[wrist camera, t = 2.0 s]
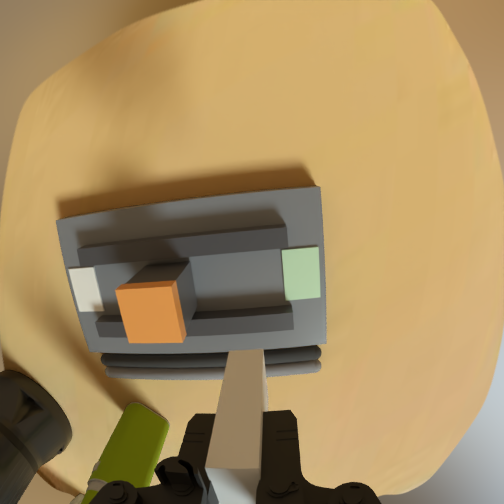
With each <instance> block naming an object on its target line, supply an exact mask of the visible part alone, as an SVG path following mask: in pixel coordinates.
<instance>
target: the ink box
mask: <svg viewBox="0 0 504 504" xmlns="http://www.w3.org/2000/svg"><path fill="white" fill-rule="evenodd" d="M83 498H84V495H83V494H79V495H78V496H77V497H75V499H73V500H72V501H71V502H70V504H81V502H82V500H83Z"/></svg>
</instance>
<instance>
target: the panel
mask: <svg viewBox="0 0 504 504" xmlns="http://www.w3.org/2000/svg"><path fill="white" fill-rule="evenodd" d="M56 224H57V230H58V235H59V241H60V246H61V250H62V255H63V260H64V264H65V268H66V273H67V277H68V281H69V285H70V289H71V292H72V296H73V300H74V303H75V307H76V310H77V314H78V317H79V320H80V324H81V327H82V330H83V333H84V336H85V339H86V342H87V345H88V348H89V351H90V352H100V353H137V354H176V353H213V352H229V351H235V350H253V349H263V350H265V349H278V348H289V347H300V346H310V345H319V344H326V282H325V256H324V235H323V219H322V204H321V190H320V187H319V186H303V187H291V188H279V189H268V190H257V191H247V192H238V193H228V194H219V195H211V196H202V197H194V198H186V199H178V200H171V201H164V202H156V203H149V204H143V205H136V206H129V207H123V208H116V209H110V210H104V211H98V212H92V213H87V214H81V215H75V216H70V217H65V218H62V219H59V220H56ZM187 261H190V262H191V268H192V274H193V280H194V286H195V292H196V298H197V304H198V306H197V308H196V311H195V313H194V315H193V317H192V319H191V321H190V324H189V326H188V328H187V330H186V334H187V335H186V337H185V339H184V341H183V343H129V341H128V338H127V334H126V331H125V327H124V323H123V320H122V316H121V312H120V308H119V304H118V300H117V296H116V292H115V290H116V289H117V288H118V287H119V286H120V285H121V284H125V283H126V282H127V281H129V280H130V279H131V278H132V277H133V276H134V275H135V274H136V273H138V272H139V271H140V270H141V269H142V268H143V267H144V266H146V265H153V264H164V263H176V262H187Z"/></svg>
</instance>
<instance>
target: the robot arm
mask: <svg viewBox="0 0 504 504" xmlns="http://www.w3.org/2000/svg"><path fill="white" fill-rule="evenodd" d="M71 439H72V429H71V426H70V423H69V421H68V419H67V417H66V416H65V414H64V412H63V411H62V409H61V408H60V407H59V406H58V404H57V403H56V402H55V401H54V400H53V398H52V397H51V396H50V395H49V394H48V393H47V392H46V391H45V390H44V389H42V388H41V387H40V386H39V385H38V384H36V383H35V382H34V381H32V380H31V379H29V378H28V377H26V376H24V375H23V374H21V373H18V372H15V371H12V370H5V371H2V372H0V504H17V503H18V501H19V500H20V498H21V496H22V495H23V493H24V492H25V490H26V488H27V486H28V485H29V483H30V482H31V480H32V478H33V477H34V475H35V474H36V472H37V471H38V469H39V468H40V467H41V466H42V465H44V464H45V463H47V462H48V461H50V460H51V459H53V458H54V457H55V456H56V455H57V454H60V453H62V452H63V451H64V450H65V449H66V447H67V446H68V444H69V443H70V441H71ZM154 471H155V473H156V475H157V477H158V479H159V481H160V482H161V484H159V485H155V486H149V487H140V488H135V487H134V485H132V484H131V483H129V482H127V481H123V480H116V481H112V482H109V483H107V484H106V485H104V486H103V487H102V488H101V489H100V490H99V492H98V493H97V494H96V495H95V497H94V498H93V499H92V500H91V501H90V503H89V504H381V503H380V501H379V499H378V498H377V496H376V494H375V493H374V491H373V490H372V489H371V488H370V487H369V486H367V485H365V484H363V483H358V482H350V483H344V484H342V485H340V486H338V487H336V488H335V489H331V488H323V487H319V486H315V485H313V484H311V483H309V482H308V481H307V480H306V479H305V478H304V477H303V475H302V472H301V464H300V451H299V440H298V428H297V418H296V417H295V416H294V414H293V413H292V412H291V410H282V411H268V389H267V380H266V370H265V360H264V351H263V349H253V350H235V351H229V354H228V359H227V363H226V368H225V373H224V378H223V383H222V387H221V392H220V397H219V402H218V407H217V412H216V414H195V415H194V416H193V418H192V419H191V420H190V421H189V422H188V425H187V428H186V431H185V435H184V438H183V442H182V445H181V448H180V451H179V455H178V456H176V457H169V458H167V459H164V460H162V461H161V462H160V463H158V464H157V466H156V467H155V469H154Z"/></svg>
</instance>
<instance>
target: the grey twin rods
mask: <svg viewBox="0 0 504 504" xmlns="http://www.w3.org/2000/svg"><path fill="white" fill-rule="evenodd" d="M263 351H264V360H265V370H266V377H275V376H287V375H297V374H307V373H316V372H318V371H319V370H320V369H321V362H320V361H319V360H317V359H318V358H319V357H320V356H321V349H320V348H319V347H318V346H306V347H296V348H285V349H274V350H263ZM228 354H229V352H228V353H203V354H112V353H105V354H103V355H102V356H101V362H102V364H104V365H106V366H107V367H106V369H105V373H106V375H107V376H108V377H111V378H128V379H153V380H218V379H223V378H224V373H225V368H226V363H227V359H228Z"/></svg>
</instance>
